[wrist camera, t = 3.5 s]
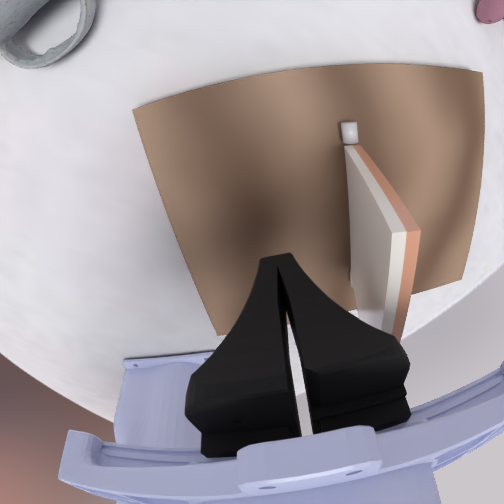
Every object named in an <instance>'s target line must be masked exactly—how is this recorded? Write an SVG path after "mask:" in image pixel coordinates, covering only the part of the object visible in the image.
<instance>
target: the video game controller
mask: <svg viewBox="0 0 504 504" xmlns="http://www.w3.org/2000/svg"><path fill="white" fill-rule="evenodd" d="M476 16H477V18H478V19H479V20H480V21H481V22H482V23H485V24H491V23H495V22H498V21H500V20H501V19H502V18H503V17H504V0H480V1H479V3H478V6H477V12H476Z"/></svg>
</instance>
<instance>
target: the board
mask: <svg viewBox="0 0 504 504" xmlns="http://www.w3.org/2000/svg"><path fill="white" fill-rule="evenodd" d="M132 111H133V114H134V118H135V121H136V124H137V127H138V131H139V134H140V137H141V140H142V143H143V146H144V149H145V152H146V155H147V158H148V161H149V164H150V167H151V170H152V173H153V176H154V179H155V182H156V185H157V187H158V190H159V193H160V196H161V199H162V201H163V204H164V207H165V209H166V212H167V215H168V218H169V220H170V223H171V225H172V228H173V231H174V233H175V236H176V238H177V241H178V244H179V246H180V249H181V251H182V254H183V256H184V259H185V261H186V264H187V266H188V268H189V271H190V273H191V276H192V278H193V281H194V283H195V285H196V288H197V290H198V292H199V295H200V297H201V299H202V302H203V304H204V306H205V309H206V311H207V313H208V315H209V318H210V320H211V322H212V324H213V327H214V329H215V331H216V333H217V335H218V336H220V335H227V334H228V333H229V332H230V330H231V328H232V327H233V325H234V324H235V322H236V320H237V319H238V317H239V315H240V313H241V311H242V310H243V308H244V305H245V303H246V301H247V299H248V296H249V294H250V292H251V289H252V286H253V283H254V280H255V277H256V274H257V270H258V265H259V260H260V259H261V258H264V257H269V256H274V255H279V254H284V253H289V252H290V253H292V254H293V256H294V258H295V260H296V261H297V263H298V264H299V265H300V267H301V268H302V269H303V271H304V272H305V273H306V274H307V275H308V276H309V278H310V279H311V280H312V281H313V282H314V283H315V284H316V285H317V286H318V287H319V288H320V289H321V290H322V291H323V292H324V293H325V294H326V295H327V296H328V297H330V298H331V299H332V300H333V301H334V302H336V303H337V304H338V305H339V306H341V307H342V308H343V309H345V310H346V311H351V310H355V309H357V305H356V299H355V294H354V289H353V288H352V287H351V286H350V271H351V246H350V217H349V198H348V183H347V171H346V159H345V149H344V146H348V145H361V146H362V148H363V149H364V150H365V151H366V153H367V154H368V155H369V157H370V158H371V159H372V160H373V162H374V163H375V164H376V166H377V167H378V168H379V170H380V171H381V172H382V174H383V175H384V176H385V178H386V179H387V180H388V182H389V183H390V185H391V186H392V187H393V189H394V190H395V192H396V193H397V195H398V196H399V197H400V199H401V200H402V202H403V203H404V205H405V206H406V208H407V209H408V211H409V212H410V214H411V215H412V217H413V219H414V220H415V222H416V223H417V225H418V226H419V228H420V230H421V234H420V242H419V250H418V257H417V264H416V270H415V276H414V282H413V287H412V292H411V295H412V294H416V293H419V292H423V291H426V290H430V289H433V288H436V287H439V286H443V285H446V284H449V283H452V282H455V281H458V280H461V279H462V276H463V273H464V269H465V265H466V261H467V257H468V253H469V249H470V245H471V240H472V235H473V230H474V225H475V220H476V214H477V208H478V202H479V195H480V187H481V178H482V168H483V155H484V132H485V108H484V85H483V73H482V72H477V71H470V70H464V69H456V68H448V67H439V66H427V65H411V64H350V65H333V66H321V67H311V68H302V69H294V70H286V71H279V72H273V73H267V74H261V75H256V76H250V77H245V78H240V79H236V80H231V81H227V82H222V83H218V84H214V85H210V86H206V87H202V88H199V89H195V90H191V91H188V92H184V93H181V94H178V95H174V96H171V97H168V98H165V99H162V100H159V101H156V102H153V103H150V104H147V105H144V106H141V107H139V108H136V109H133V110H132ZM343 121H356V122H357V129H358V139H359V142H358V143H354V144H346V143H343V139H342V130H341V122H343ZM286 315H287V312H286ZM287 324H290V322H289V319H288V315H287Z"/></svg>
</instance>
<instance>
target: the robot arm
mask: <svg viewBox="0 0 504 504" xmlns="http://www.w3.org/2000/svg"><path fill="white" fill-rule="evenodd" d="M286 312H287V315H288V319H289V322H290V325H291V329H292V332H293V336H294V339H295V342H296V346H297V349H298V353H299V357H300V361H301V367H302V372H303V378H304V384H305V389H306V395H307V401H308V406H309V412H310V418H311V425H312V431H313V435H309V436H304V437H302V434H301V428H300V421H299V415H298V409H297V403H296V396H295V390H294V384H293V378H292V371H291V365H290V357H289V344H288V329H287V315H286ZM122 365H123V366H124V368H125V369H126V371H125V375H124V379H123V383H122V387H121V391H120V396H119V400H118V404H117V409H116V413H115V418H114V434H115V439H116V442H117V443H110V442H102V440H100V439H99V438H98V437H96V436H95V435H92V434H90V433H86V432H80V431H74V430H69V431H68V435H67V439H66V443H65V448H64V451H63V456H62V460H61V465H60V469H59V474H58V478H59V480H61V481H63V482H66V483H68V484H70V485H72V486H74V487H77V488H79V489H81V490H84V491H86V492H89V493H91V494H94V495H97V496H100V497H105V498H108V499H112V500H116V504H441V501H440V497H439V493H438V489H437V485H436V482H435V478H434V474H433V471H435V470H438V469H440V468H441V467H443V466H446V465H448V464H450V463H451V462H453V461H455V460H457V459H459V458H461V457H463V456H465V455H466V454H468V453H470V452H472V451H473V450H475V449H477V448H479V447H480V446H482V445H483V444H485V443H487V442H488V441H490V440H491V439H493V438H495V437H496V436H498V435H499V434H501V433H502V432H504V361H503V362H502V364H501V366H500V368H498V369H497V370H495V371H493V372H491V373H489V374H487V375H486V376H484V377H482V378H480V379H478V380H476V381H474V382H472V383H470V384H468V385H466V386H464V387H462V388H460V389H457V390H455V391H453V392H451V393H449V394H446V395H444V396H442V397H439V398H437V399H434V400H432V401H430V402H427V403H424V404H422V405H419V406H417V407H414V408H411V409H410V408H409V406H408V403H407V400H406V398H405V396H406V394H407V392H406V389H405V387H404V381H405V379H406V376H407V374H408V371H409V367H410V362H409V359H408V357H407V354H406V353H405V351H404V349H403V348H402V346H401V345H400V343H399V342H398V340H397V339H396V337H395V336H393V335H391V334H389V333H386V332H384V331H382V330H379V329H377V328H375V327H373V326H371V325H369V324H367V323H365V322H363V321H362V320H360V319H359V318H357V317H356V316H354V315H352V314H351V313H349V312H348V311H346V310H345V309H343V308H342V307H341V306H339V305H338V304H337V303H336V302H334V301H333V300H332V299H331V298H330V297H328V296H327V295H326V294H325V293H324V292H323V291H322V290H321V289H320V288H319V287H318V286H317V285H316V284H315V283H314V282H313V281H312V280H311V279H310V278H309V276H308V275H307V274H306V273H305V272H304V271H303V269H302V268H301V267H300V265H299V264H298V263H297V261H296V260H295V258H294V256H293V254H292V253H290V252H289V253H284V254H279V255H274V256H269V257H264V258H261V259H260V260H259V265H258V270H257V274H256V277H255V280H254V283H253V286H252V289H251V292H250V294H249V296H248V299H247V301H246V303H245V305H244V308H243V310H242V311H241V313H240V315H239V317H238V319H237V320H236V322H235V324H234V325H233V327H232V328H231V330H230V332H229V333H228V335H227V336H226V337H225V339H224V340H223V341H222V343H221V344H220V345H219V346H218V347H217V349H216V350H215V351H214V352H207V353H198V354H189V355H180V356H170V357H158V358H146V359H131V360H124V361H123V363H122Z"/></svg>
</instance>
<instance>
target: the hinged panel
mask: <svg viewBox="0 0 504 504" xmlns="http://www.w3.org/2000/svg"><path fill="white" fill-rule="evenodd" d="M341 130H342V139H343V143H346V144H354V143H358V142H359V139H358V129H357V122H356V121H343V122H341ZM344 149H345V159H346V171H347V183H348V198H349V217H350V246H351V271H350V286H351V287H352V288H353V289H354V294H355V299H356V305H357V311H358V317H359V319H360V320H362V321H363V322H365V323H367V324H369V325H371V326H373V327H375V328H377V329H379V330H382V331H384V332H386V333H389V334H391V335H393V336H395V337H396V339H397V340H398V342H399V343H400V341H401V337H402V333H403V329H404V325H405V320H406V316H407V312H408V307H409V302H410V297H411V292H412V287H413V282H414V276H415V270H416V264H417V257H418V250H419V242H420V234H421V230H420V228H419V226H418V225H417V223H416V222H415V220H414V219H413V217H412V215H411V214H410V212H409V211H408V209H407V208H406V206H405V205H404V203H403V202H402V200H401V199H400V197H399V196H398V195H397V193H396V192H395V190H394V189H393V187H392V186H391V185H390V183H389V182H388V180H387V179H386V178H385V176H384V175H383V174H382V172H381V171H380V170H379V168H378V167H377V166H376V164H375V163H374V162H373V160H372V159H371V158H370V157H369V155H368V154H367V153H366V151H365V150H364V149H363V148H362V146H361V145H348V146H344Z"/></svg>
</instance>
